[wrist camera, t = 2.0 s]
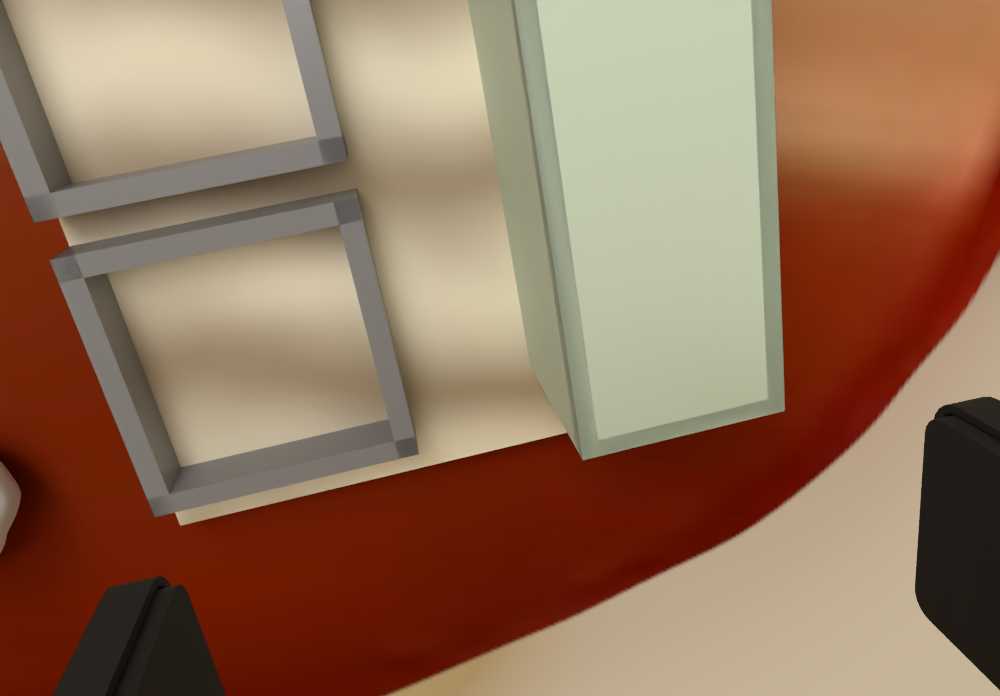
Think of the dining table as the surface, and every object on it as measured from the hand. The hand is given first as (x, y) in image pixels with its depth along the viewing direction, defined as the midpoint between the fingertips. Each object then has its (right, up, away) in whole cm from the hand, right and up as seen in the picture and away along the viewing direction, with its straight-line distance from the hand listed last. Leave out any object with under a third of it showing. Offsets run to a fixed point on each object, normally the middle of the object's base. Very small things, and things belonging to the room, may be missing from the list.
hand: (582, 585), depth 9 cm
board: (-5, +9, +16) cm, 19 cm away
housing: (+2, +10, +15) cm, 19 cm away
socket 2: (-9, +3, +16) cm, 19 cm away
